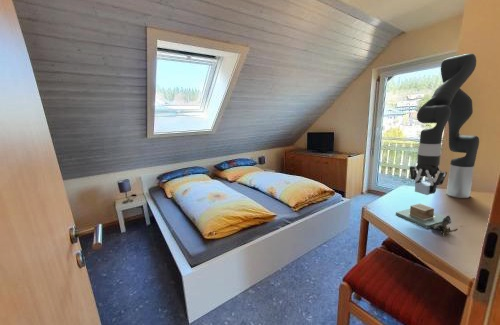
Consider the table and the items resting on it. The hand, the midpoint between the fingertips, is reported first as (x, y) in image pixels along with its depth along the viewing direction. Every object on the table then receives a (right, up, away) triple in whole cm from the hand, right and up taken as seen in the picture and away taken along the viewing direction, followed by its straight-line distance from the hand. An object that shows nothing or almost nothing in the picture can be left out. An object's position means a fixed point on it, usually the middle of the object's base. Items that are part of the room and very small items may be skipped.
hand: (424, 191), depth 95 cm
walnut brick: (0, -11, +2) cm, 12 cm away
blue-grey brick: (0, -1, 0) cm, 1 cm away
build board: (+1, -13, +3) cm, 13 cm away
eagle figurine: (0, -16, -9) cm, 18 cm away
